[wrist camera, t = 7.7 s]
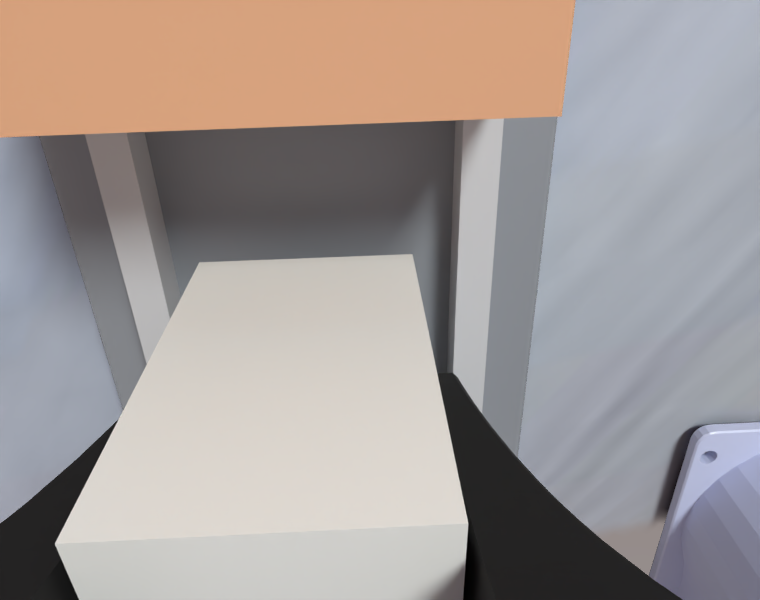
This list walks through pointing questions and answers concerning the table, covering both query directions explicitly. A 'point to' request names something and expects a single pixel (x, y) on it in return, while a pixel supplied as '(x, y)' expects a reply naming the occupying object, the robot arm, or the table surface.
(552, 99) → the peach block
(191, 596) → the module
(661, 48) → the table surface
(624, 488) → the table surface
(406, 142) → the rail holder
